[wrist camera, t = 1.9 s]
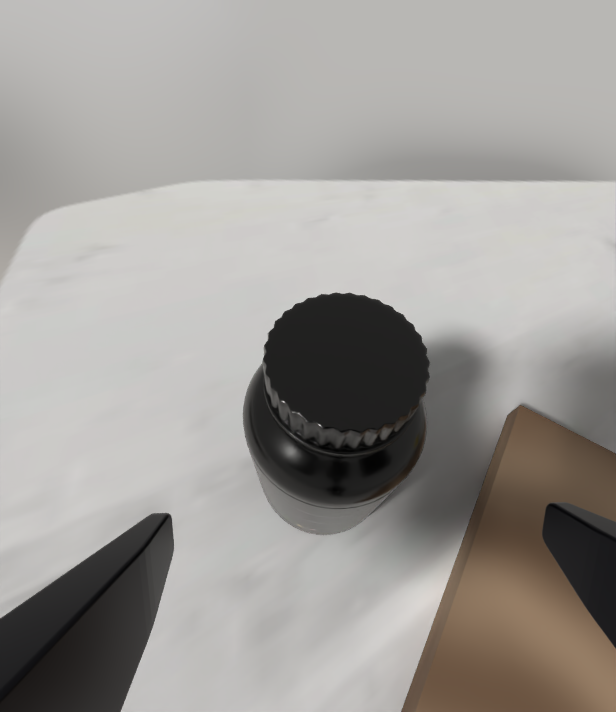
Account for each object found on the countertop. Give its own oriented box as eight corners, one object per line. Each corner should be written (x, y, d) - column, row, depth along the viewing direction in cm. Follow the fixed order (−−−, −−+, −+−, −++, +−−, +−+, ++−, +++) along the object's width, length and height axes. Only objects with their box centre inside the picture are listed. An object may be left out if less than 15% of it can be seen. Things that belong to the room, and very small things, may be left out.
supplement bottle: (287, 399, 22) (284, 244, 12) (392, 437, 21) (483, 300, 11) (238, 509, 19) (178, 413, 9) (362, 561, 18) (456, 520, 8)
